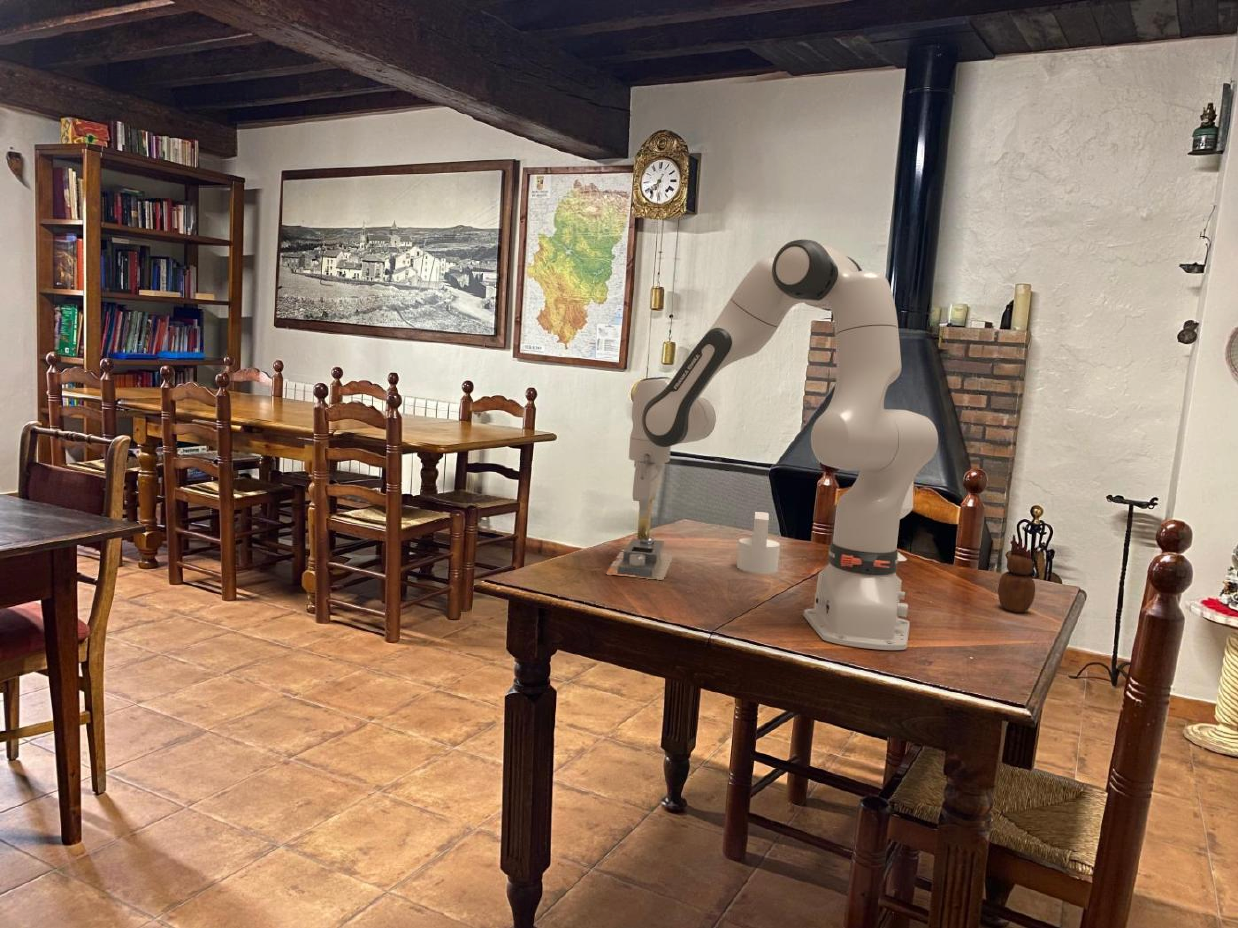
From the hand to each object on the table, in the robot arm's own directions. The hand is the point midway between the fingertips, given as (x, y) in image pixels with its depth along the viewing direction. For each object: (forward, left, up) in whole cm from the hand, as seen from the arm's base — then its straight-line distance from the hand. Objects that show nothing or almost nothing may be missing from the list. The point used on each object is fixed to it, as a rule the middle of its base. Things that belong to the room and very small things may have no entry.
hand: (645, 515), depth 194 cm
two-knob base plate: (0, 0, -11) cm, 11 cm away
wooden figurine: (-5, -76, -11) cm, 77 cm away
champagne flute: (+34, -58, -11) cm, 68 cm away
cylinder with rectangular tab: (+8, -25, -11) cm, 29 cm away
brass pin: (0, 0, -5) cm, 5 cm away
